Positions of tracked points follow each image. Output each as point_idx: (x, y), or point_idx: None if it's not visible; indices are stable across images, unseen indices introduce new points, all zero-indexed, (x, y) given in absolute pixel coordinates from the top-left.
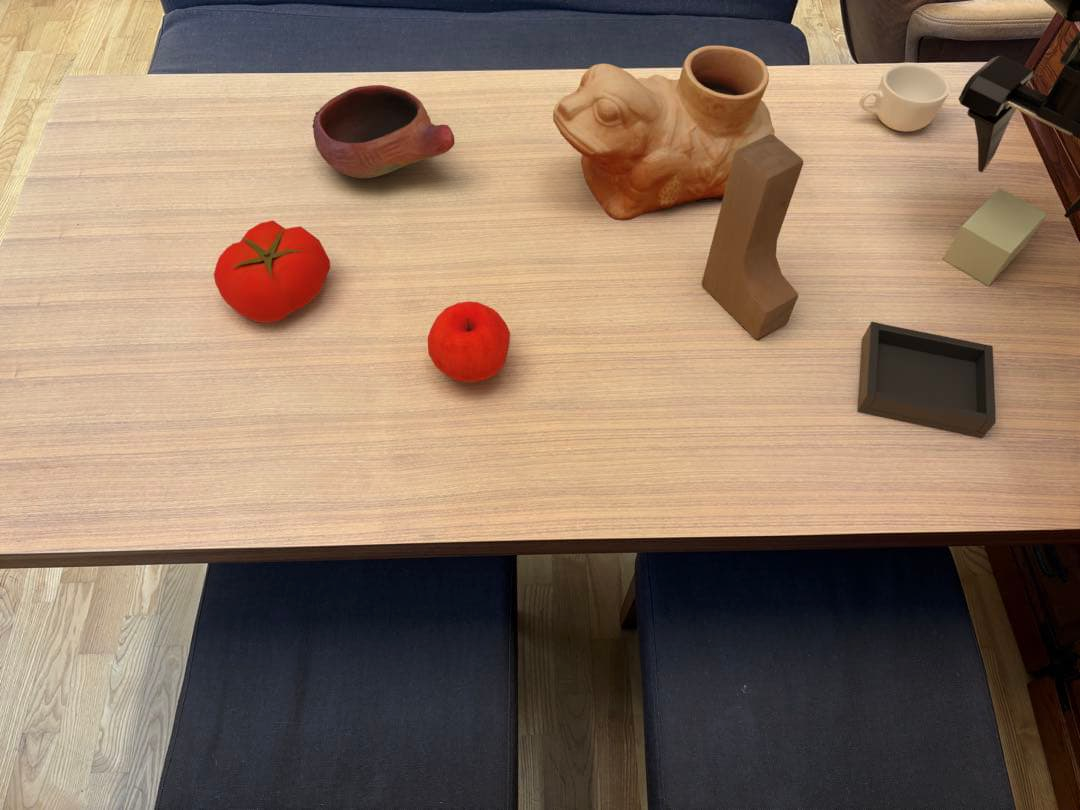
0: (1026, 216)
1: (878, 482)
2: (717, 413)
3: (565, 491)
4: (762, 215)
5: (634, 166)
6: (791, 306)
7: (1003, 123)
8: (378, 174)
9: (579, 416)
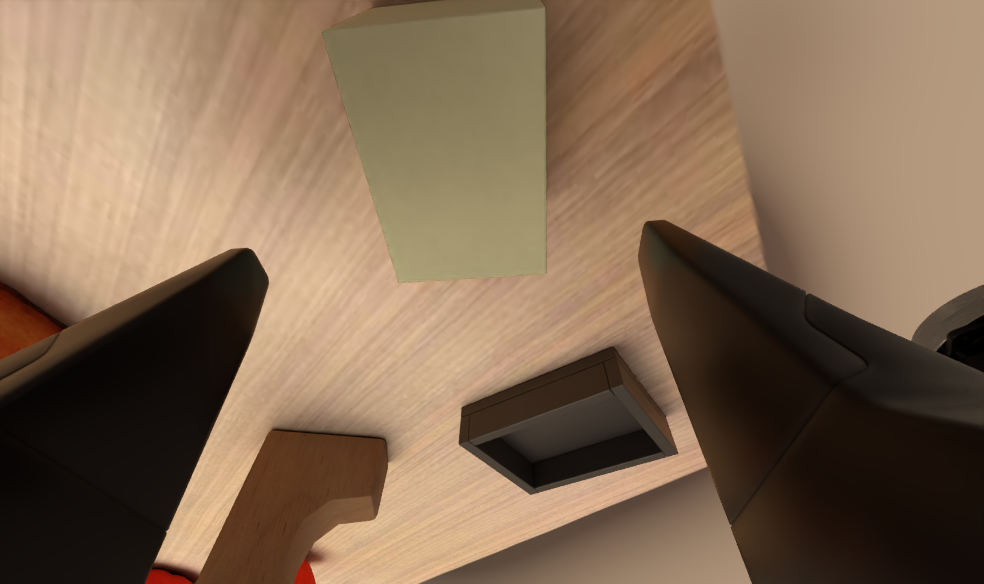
0: (494, 101)
1: (593, 486)
2: (437, 509)
3: (425, 563)
4: None
5: None
6: (377, 481)
7: (40, 528)
8: None
9: (375, 544)
